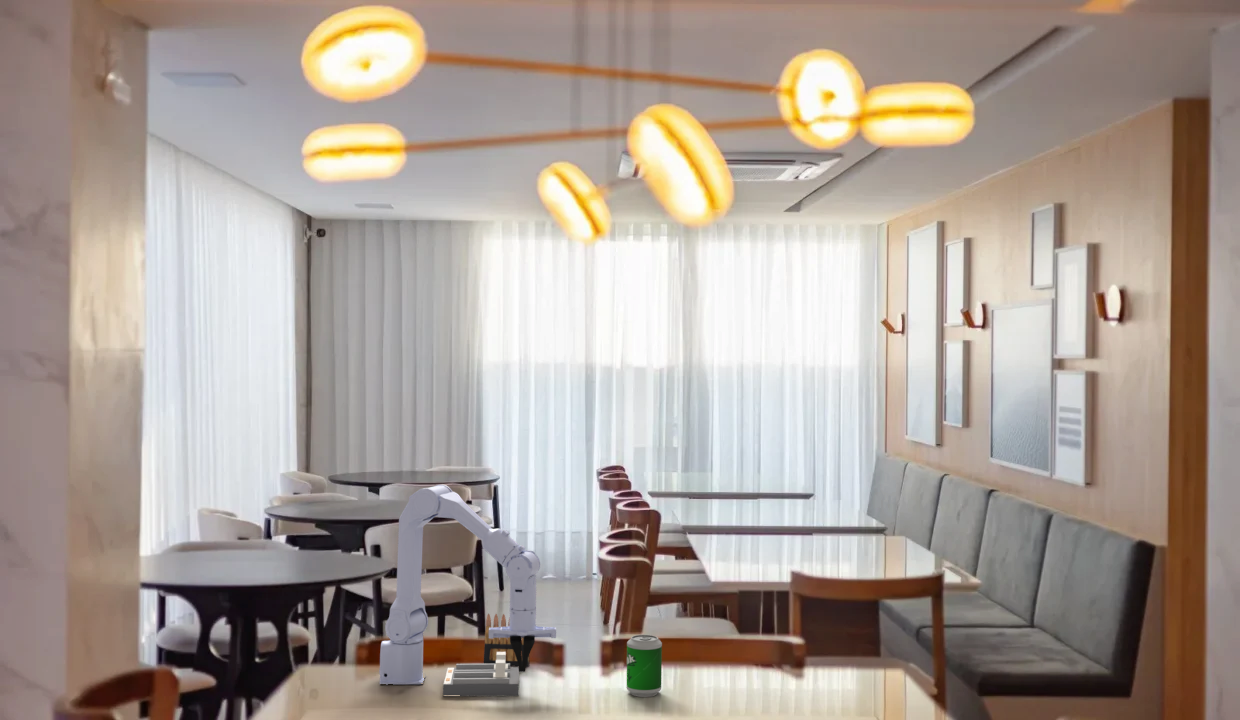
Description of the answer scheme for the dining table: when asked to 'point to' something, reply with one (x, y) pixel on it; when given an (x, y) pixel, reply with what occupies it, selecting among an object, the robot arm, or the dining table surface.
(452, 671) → the switch bank
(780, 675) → the dining table surface
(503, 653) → the tab far
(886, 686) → the dining table surface
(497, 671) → the tab near
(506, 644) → the ammunition clip
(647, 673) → the soda can
